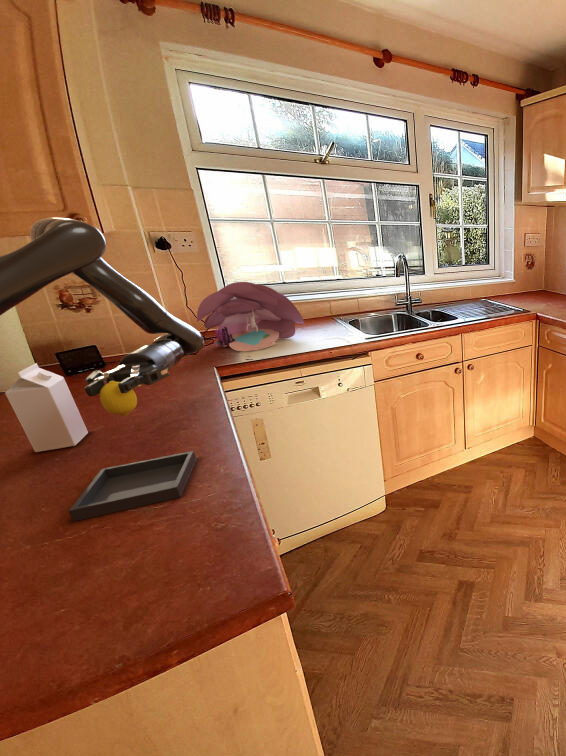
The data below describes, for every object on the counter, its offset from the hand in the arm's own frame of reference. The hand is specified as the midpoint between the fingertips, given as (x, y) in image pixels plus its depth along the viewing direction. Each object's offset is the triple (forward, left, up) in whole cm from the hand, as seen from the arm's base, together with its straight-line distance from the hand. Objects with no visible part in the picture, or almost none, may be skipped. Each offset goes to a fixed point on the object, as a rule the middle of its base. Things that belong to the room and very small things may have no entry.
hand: (105, 390), depth 84 cm
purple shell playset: (+16, +94, -18) cm, 97 cm away
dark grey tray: (+4, -11, -18) cm, 21 cm away
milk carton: (-19, +20, -18) cm, 33 cm away
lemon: (0, +3, -7) cm, 8 cm away
